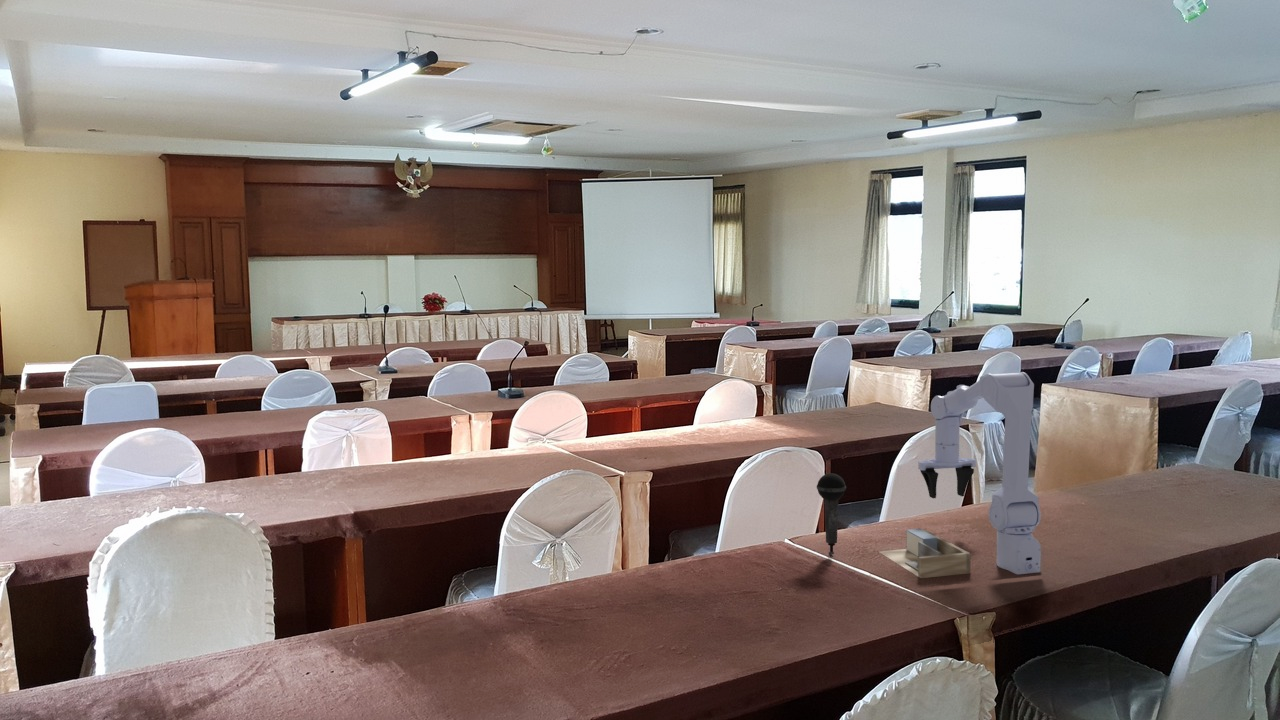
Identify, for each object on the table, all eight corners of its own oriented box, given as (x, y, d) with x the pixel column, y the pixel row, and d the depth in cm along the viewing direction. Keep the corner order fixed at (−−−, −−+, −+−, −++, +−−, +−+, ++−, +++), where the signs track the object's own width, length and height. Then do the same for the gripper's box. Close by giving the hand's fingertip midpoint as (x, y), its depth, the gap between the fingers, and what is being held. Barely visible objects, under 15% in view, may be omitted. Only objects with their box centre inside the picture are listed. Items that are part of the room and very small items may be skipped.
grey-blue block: (937, 558, 218) (937, 537, 217) (923, 560, 217) (923, 539, 217) (919, 549, 226) (919, 528, 225) (906, 550, 225) (906, 529, 225)
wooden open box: (970, 576, 208) (970, 551, 207) (920, 581, 205) (920, 556, 205) (924, 550, 227) (924, 527, 227) (878, 554, 225) (878, 531, 224)
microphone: (813, 558, 223) (812, 475, 221) (821, 550, 229) (821, 469, 227) (841, 562, 220) (841, 477, 218) (849, 554, 226) (849, 471, 224)
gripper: (965, 438, 242) (965, 490, 243) (912, 442, 240) (912, 494, 241) (980, 443, 235) (979, 497, 236) (926, 447, 233) (925, 501, 234)
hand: (946, 496), depth 238 cm, fingers open, 7 cm apart
